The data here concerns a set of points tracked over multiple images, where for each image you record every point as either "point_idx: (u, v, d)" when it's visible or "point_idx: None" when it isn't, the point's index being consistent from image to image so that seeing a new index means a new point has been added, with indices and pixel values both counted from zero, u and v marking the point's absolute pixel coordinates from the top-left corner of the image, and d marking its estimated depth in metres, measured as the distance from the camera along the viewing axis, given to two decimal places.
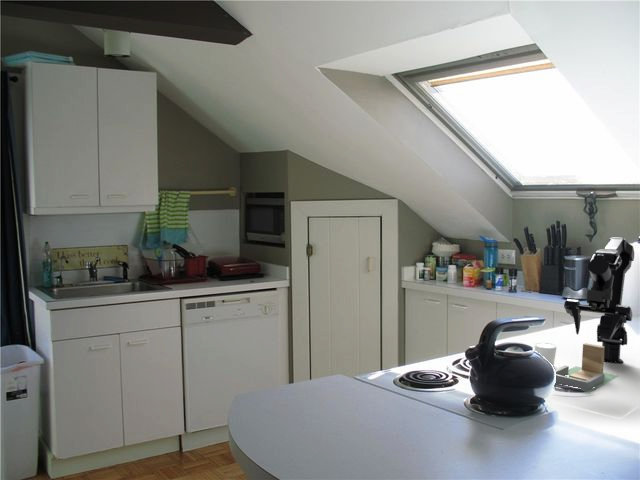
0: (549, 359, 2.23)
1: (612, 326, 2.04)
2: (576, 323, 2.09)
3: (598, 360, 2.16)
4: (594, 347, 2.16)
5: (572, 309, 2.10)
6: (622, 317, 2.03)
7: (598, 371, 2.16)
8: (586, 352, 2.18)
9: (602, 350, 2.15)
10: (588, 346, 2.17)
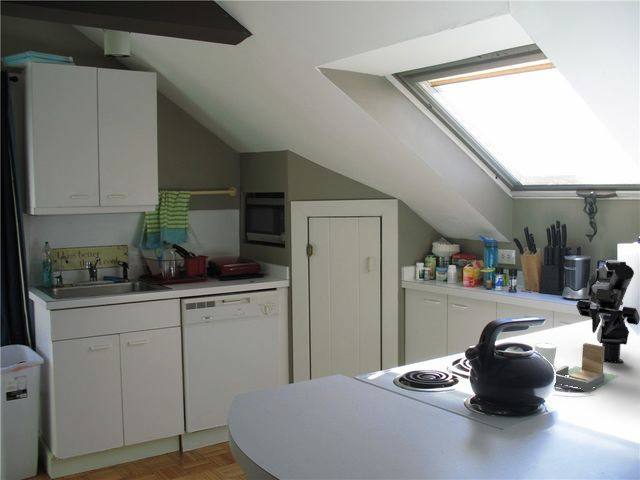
0: (549, 359, 2.23)
1: (608, 323, 2.19)
2: (593, 322, 2.22)
3: (598, 360, 2.16)
4: (594, 347, 2.16)
5: (591, 309, 2.23)
6: (619, 316, 2.18)
7: (598, 371, 2.16)
8: (586, 352, 2.18)
9: (602, 350, 2.15)
10: (588, 346, 2.17)
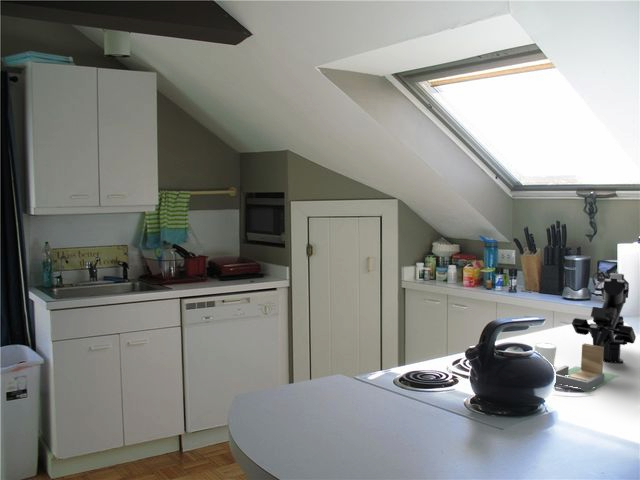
0: (549, 359, 2.23)
1: (599, 341, 2.18)
2: (594, 341, 2.19)
3: (597, 361, 2.15)
4: (593, 347, 2.16)
5: (592, 328, 2.21)
6: (609, 334, 2.18)
7: (597, 371, 2.15)
8: (585, 352, 2.17)
9: (601, 350, 2.14)
10: (587, 346, 2.17)
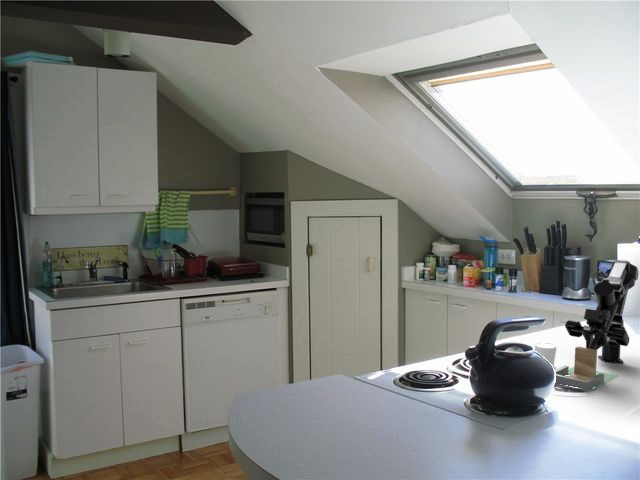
0: (549, 359, 2.23)
1: (592, 343, 2.14)
2: (587, 344, 2.15)
3: (590, 364, 2.11)
4: (586, 351, 2.12)
5: (585, 330, 2.17)
6: (602, 336, 2.14)
7: (590, 375, 2.12)
8: (578, 356, 2.14)
9: (595, 354, 2.11)
10: (580, 349, 2.13)
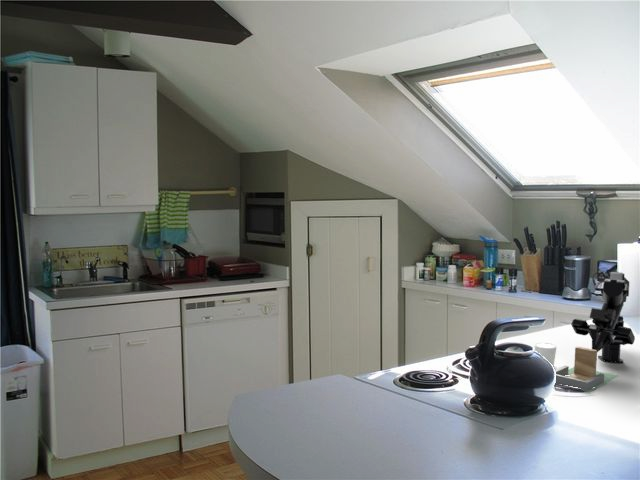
0: (549, 359, 2.23)
1: (598, 342, 2.18)
2: (593, 343, 2.19)
3: (590, 364, 2.11)
4: (586, 351, 2.12)
5: (591, 329, 2.21)
6: (608, 335, 2.18)
7: (590, 375, 2.12)
8: (578, 356, 2.14)
9: (595, 354, 2.11)
10: (580, 349, 2.13)
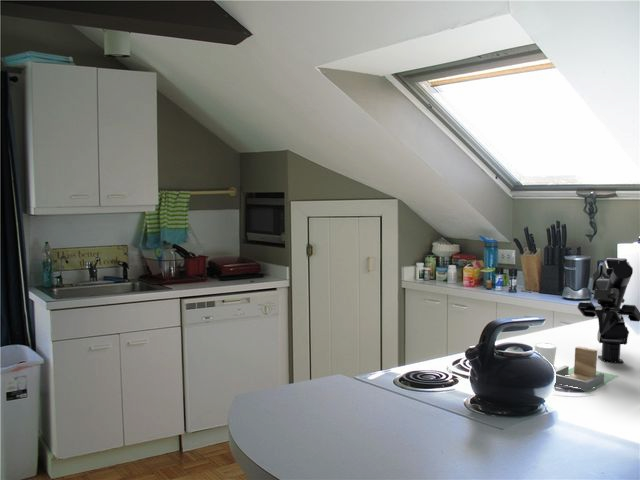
0: (549, 359, 2.23)
1: (604, 322, 2.19)
2: (600, 323, 2.20)
3: (590, 364, 2.11)
4: (586, 351, 2.12)
5: (597, 310, 2.22)
6: (614, 314, 2.18)
7: (590, 375, 2.12)
8: (578, 356, 2.14)
9: (595, 354, 2.11)
10: (580, 349, 2.13)
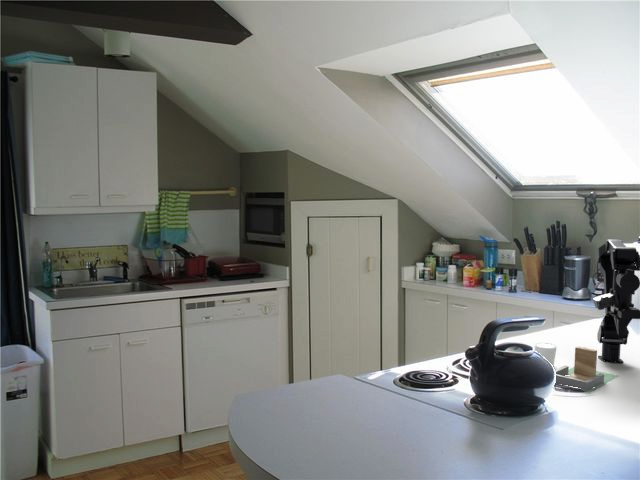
0: (549, 359, 2.23)
1: (617, 324, 2.19)
2: (616, 325, 2.20)
3: (590, 364, 2.11)
4: (586, 351, 2.12)
5: (609, 312, 2.21)
6: None
7: (590, 375, 2.12)
8: (578, 356, 2.14)
9: (595, 354, 2.11)
10: (580, 349, 2.13)
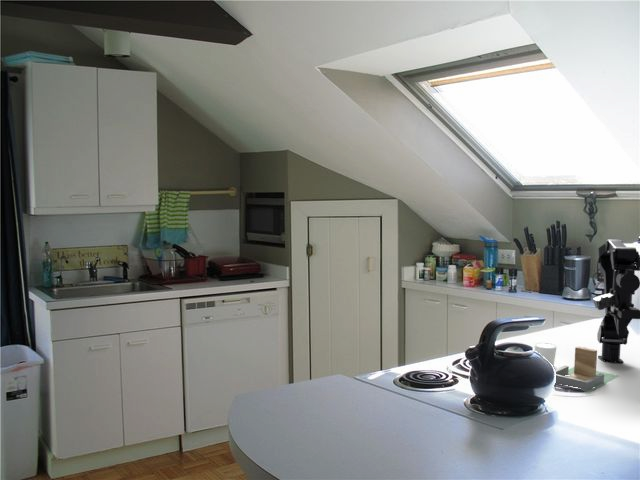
0: (549, 359, 2.23)
1: (617, 324, 2.19)
2: (616, 325, 2.20)
3: (590, 364, 2.11)
4: (586, 351, 2.12)
5: (609, 312, 2.21)
6: None
7: (590, 375, 2.12)
8: (578, 356, 2.14)
9: (595, 354, 2.11)
10: (580, 349, 2.13)
